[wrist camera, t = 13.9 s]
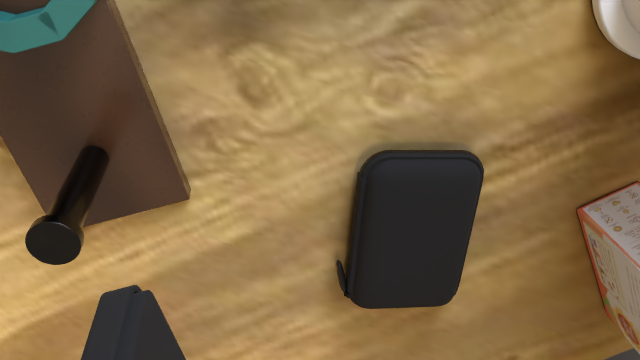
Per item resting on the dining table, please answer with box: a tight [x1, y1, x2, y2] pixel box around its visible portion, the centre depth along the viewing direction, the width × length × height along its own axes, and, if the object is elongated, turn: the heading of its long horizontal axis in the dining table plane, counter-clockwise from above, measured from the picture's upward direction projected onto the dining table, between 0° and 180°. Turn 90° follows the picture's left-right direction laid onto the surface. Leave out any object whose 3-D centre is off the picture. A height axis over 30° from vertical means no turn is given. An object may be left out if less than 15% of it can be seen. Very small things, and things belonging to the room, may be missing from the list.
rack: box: [0, 0, 191, 265], centre depth 32 cm, size 10×24×12 cm, turn 13°
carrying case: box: [336, 150, 484, 309], centre depth 46 cm, size 11×3×15 cm
